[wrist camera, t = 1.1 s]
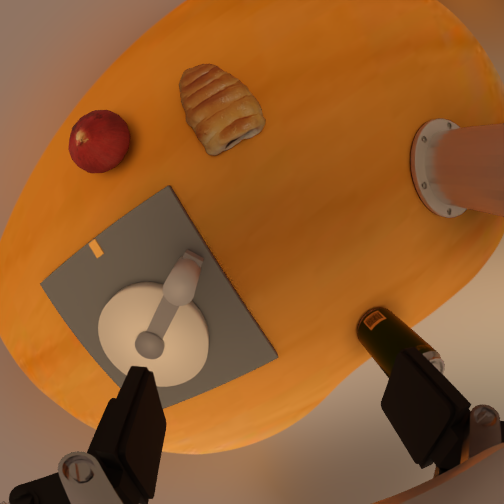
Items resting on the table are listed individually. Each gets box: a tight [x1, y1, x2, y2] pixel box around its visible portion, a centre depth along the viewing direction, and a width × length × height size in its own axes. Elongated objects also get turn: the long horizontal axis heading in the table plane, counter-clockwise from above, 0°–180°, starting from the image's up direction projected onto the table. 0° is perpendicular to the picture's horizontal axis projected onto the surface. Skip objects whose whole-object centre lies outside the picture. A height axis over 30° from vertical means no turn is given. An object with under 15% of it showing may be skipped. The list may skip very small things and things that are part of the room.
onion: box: [69, 110, 130, 173], centre depth 21 cm, size 6×6×8 cm
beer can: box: [357, 308, 445, 378], centre depth 26 cm, size 5×5×12 cm
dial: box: [98, 249, 209, 387], centre depth 25 cm, size 16×12×7 cm
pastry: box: [179, 64, 265, 155], centre depth 23 cm, size 9×7×4 cm
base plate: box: [40, 186, 278, 409], centre depth 29 cm, size 20×22×1 cm
